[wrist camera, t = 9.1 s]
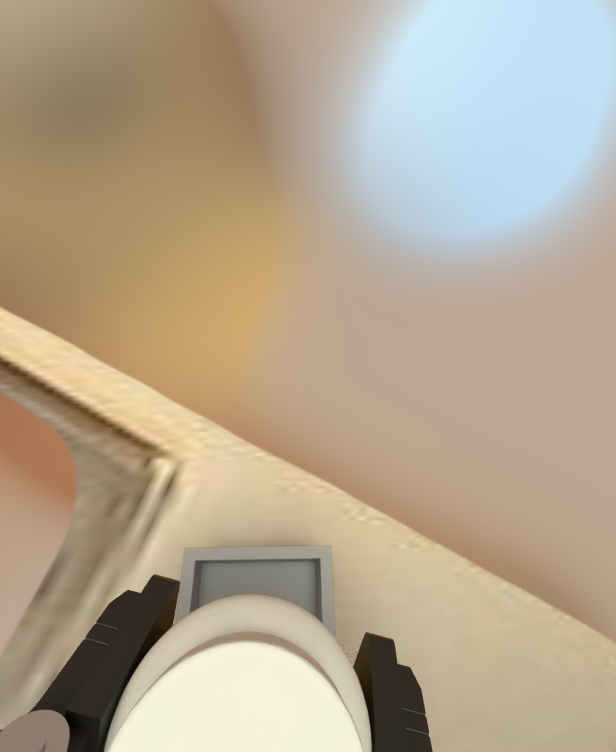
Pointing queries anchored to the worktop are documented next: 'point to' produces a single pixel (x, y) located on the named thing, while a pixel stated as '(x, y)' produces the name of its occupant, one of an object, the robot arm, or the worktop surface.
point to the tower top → (259, 577)
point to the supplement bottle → (243, 685)
